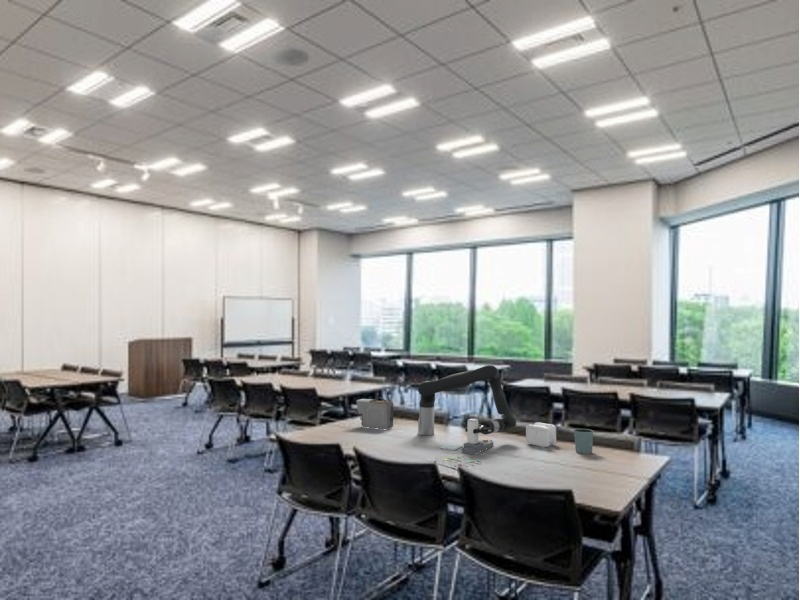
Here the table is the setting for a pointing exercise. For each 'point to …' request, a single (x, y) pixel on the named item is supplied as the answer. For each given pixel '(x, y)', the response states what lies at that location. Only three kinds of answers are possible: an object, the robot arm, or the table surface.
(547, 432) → the cable organizer
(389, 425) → the grey boxy piece
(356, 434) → the table surface
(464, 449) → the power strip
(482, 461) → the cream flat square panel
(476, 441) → the block
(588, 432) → the teal cup
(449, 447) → the mat
